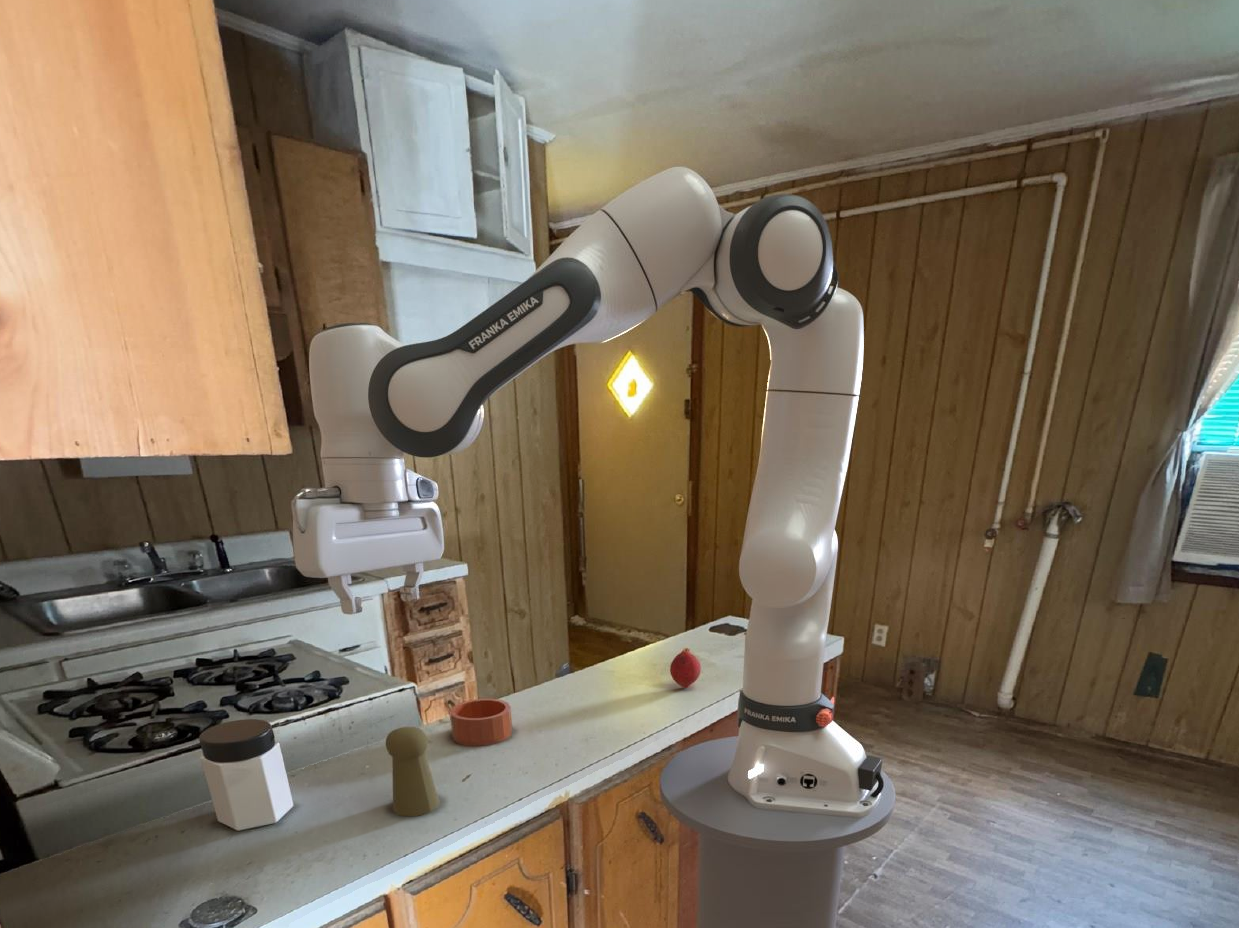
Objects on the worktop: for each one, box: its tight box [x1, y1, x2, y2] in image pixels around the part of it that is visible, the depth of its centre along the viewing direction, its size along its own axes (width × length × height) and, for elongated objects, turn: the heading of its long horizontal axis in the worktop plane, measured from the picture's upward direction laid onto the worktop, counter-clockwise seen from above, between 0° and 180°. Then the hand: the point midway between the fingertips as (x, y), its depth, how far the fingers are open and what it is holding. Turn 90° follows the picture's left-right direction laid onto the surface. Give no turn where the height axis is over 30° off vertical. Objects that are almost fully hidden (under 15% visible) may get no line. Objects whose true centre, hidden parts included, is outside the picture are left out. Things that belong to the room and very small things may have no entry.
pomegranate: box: [669, 646, 702, 689], centre depth 141 cm, size 6×6×8 cm
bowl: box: [448, 698, 513, 747], centre depth 121 cm, size 10×10×4 cm
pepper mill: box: [385, 726, 441, 817], centre depth 97 cm, size 6×6×11 cm
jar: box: [198, 718, 294, 832], centre depth 95 cm, size 9×8×12 cm
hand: (382, 606), depth 89 cm, fingers open, 8 cm apart
